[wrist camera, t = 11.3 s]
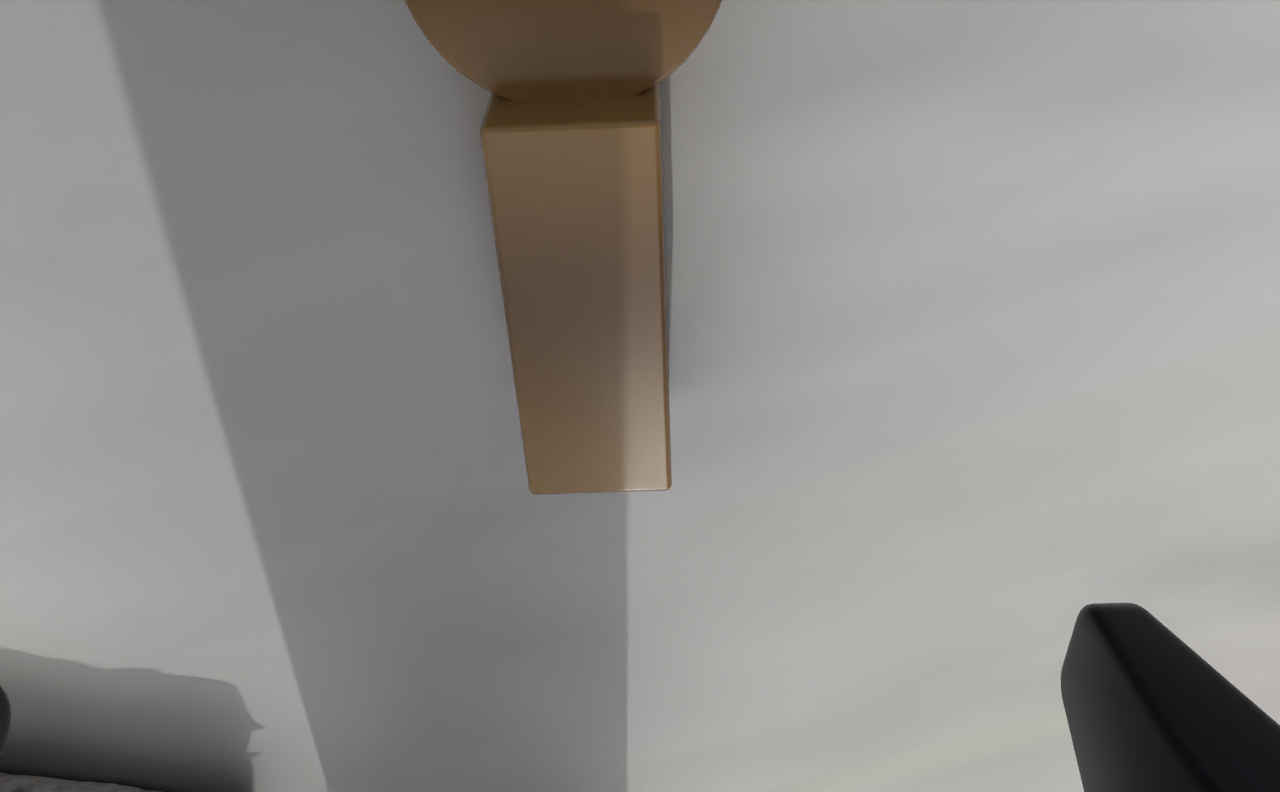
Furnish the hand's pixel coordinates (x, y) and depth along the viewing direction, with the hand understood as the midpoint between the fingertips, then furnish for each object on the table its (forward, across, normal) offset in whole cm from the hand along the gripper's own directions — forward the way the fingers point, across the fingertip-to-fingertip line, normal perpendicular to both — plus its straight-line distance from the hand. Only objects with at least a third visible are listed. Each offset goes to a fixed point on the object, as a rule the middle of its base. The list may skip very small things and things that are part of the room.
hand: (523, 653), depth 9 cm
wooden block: (+9, 0, -1) cm, 9 cm away
